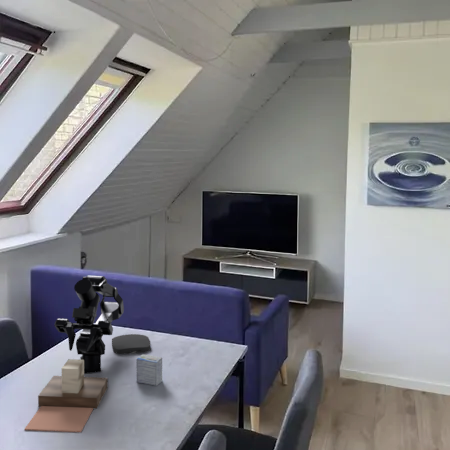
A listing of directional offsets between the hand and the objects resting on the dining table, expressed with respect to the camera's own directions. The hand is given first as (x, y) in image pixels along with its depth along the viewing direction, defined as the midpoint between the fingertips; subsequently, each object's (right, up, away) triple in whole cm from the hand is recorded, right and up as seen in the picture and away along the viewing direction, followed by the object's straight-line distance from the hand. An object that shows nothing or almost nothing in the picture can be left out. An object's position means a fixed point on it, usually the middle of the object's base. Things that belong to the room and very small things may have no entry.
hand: (78, 350), depth 173 cm
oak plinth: (0, -13, -5) cm, 14 cm away
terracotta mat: (0, -16, -19) cm, 25 cm away
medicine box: (+22, -13, +7) cm, 27 cm away
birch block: (0, -10, -7) cm, 12 cm away
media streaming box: (+11, -8, +38) cm, 40 cm away
